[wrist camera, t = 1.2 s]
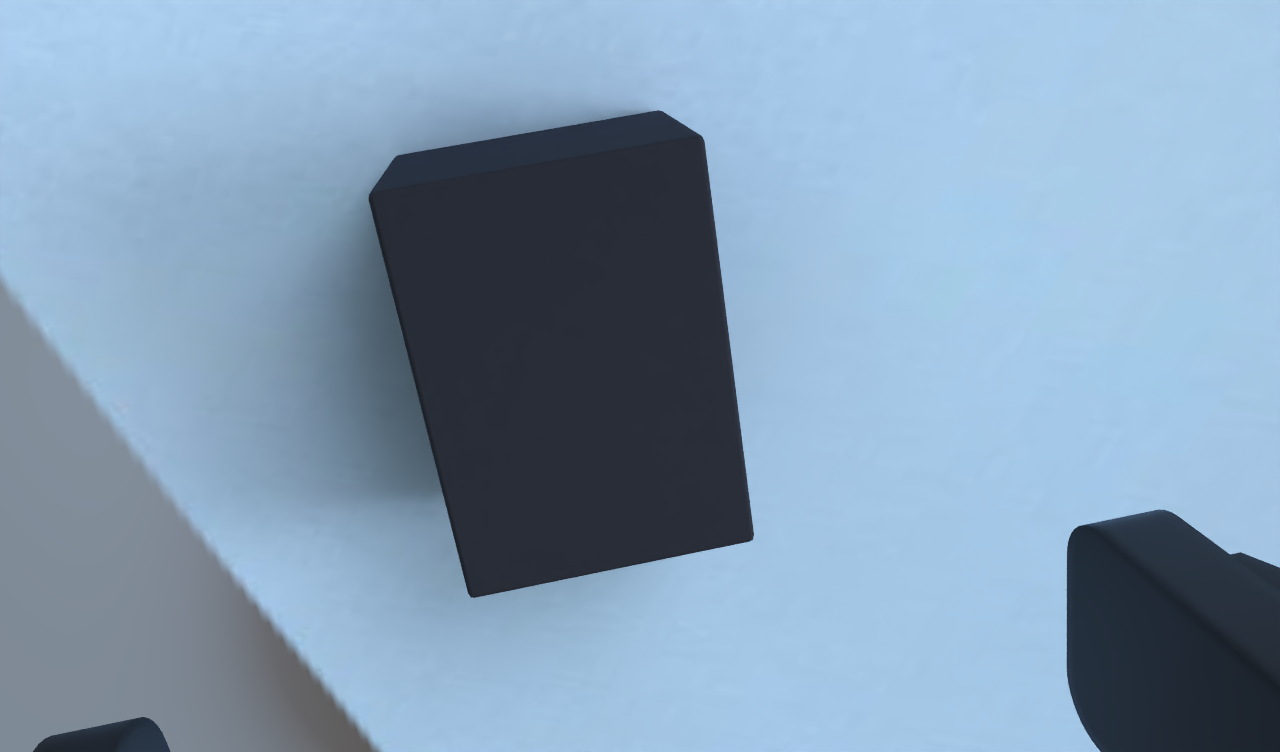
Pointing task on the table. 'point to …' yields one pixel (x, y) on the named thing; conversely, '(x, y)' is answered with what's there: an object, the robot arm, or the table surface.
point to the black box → (569, 346)
